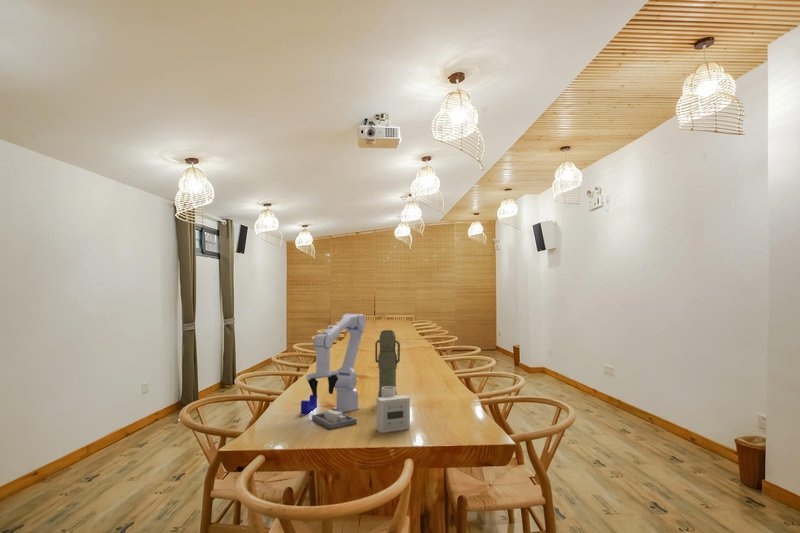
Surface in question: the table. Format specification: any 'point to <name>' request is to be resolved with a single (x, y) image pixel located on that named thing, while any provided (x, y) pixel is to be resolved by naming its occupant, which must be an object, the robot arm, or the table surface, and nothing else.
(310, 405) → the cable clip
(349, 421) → the tray
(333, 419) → the connector
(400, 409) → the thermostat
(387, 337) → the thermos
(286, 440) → the table surface
